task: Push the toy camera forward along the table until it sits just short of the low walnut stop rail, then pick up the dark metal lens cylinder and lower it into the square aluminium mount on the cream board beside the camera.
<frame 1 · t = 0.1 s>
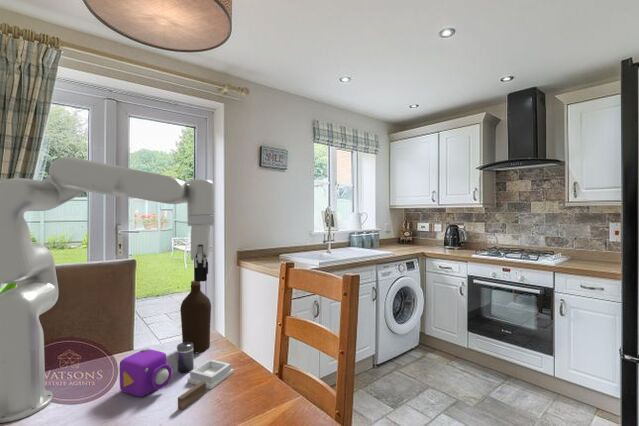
hand: (201, 277, 96), 31 cm above the table, tool pointing down, fingers open, 9 cm apart
olive oil: (196, 348, 118), on the table
mount: (211, 377, 98), on the table
toy camera: (148, 389, 92), on the table
rail: (192, 400, 86), on the table
lens: (185, 369, 103), on the table
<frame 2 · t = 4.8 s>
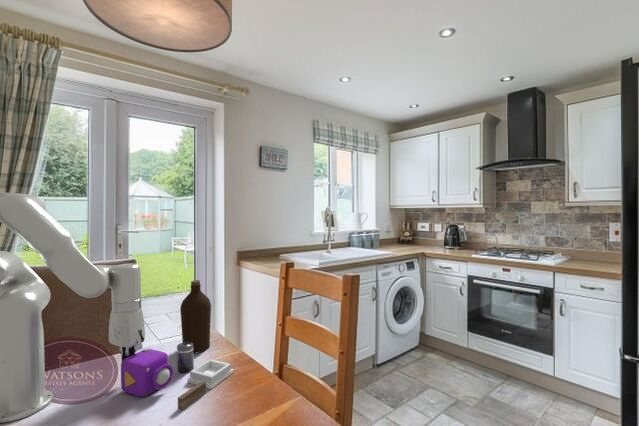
hand: (128, 366, 95), 5 cm above the table, tool pointing down, fingers closed
toy camera: (149, 389, 92), on the table, touching gripper
everything else where it was.
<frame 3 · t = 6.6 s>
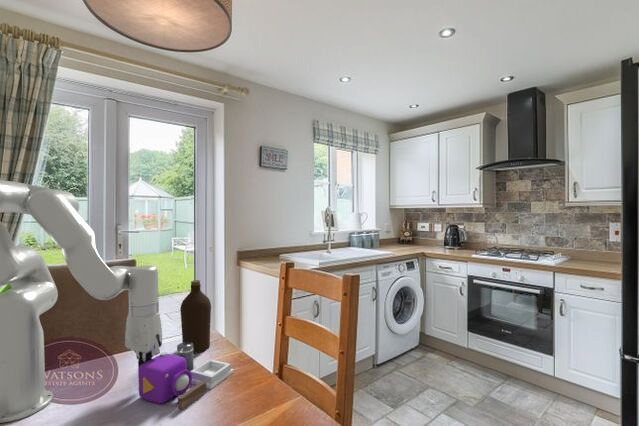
hand: (145, 371, 92), 5 cm above the table, tool pointing down, fingers closed
toy camera: (168, 395, 89), on the table, touching gripper
everything else where it was.
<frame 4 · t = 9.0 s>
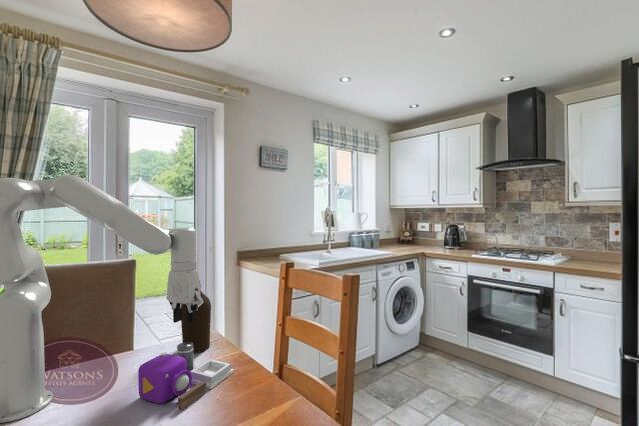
hand: (184, 321, 102), 15 cm above the table, tool pointing down, fingers open, 5 cm apart
toy camera: (167, 395, 89), on the table
everything else where it was.
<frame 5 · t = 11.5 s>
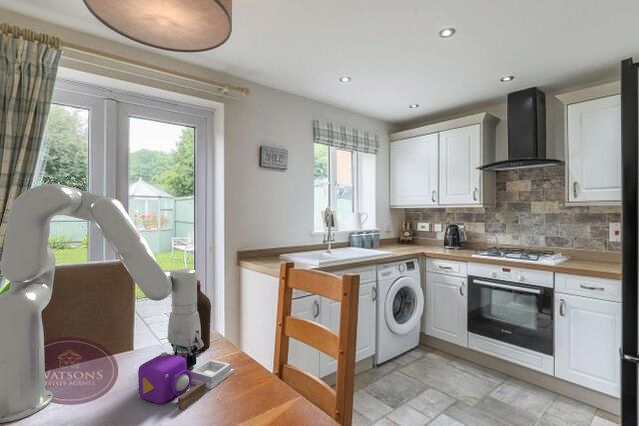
hand: (185, 363, 103), 2 cm above the table, tool pointing down, fingers closed on lens, 4 cm apart
lens: (185, 369, 103), on the table, touching gripper
everything else where it was.
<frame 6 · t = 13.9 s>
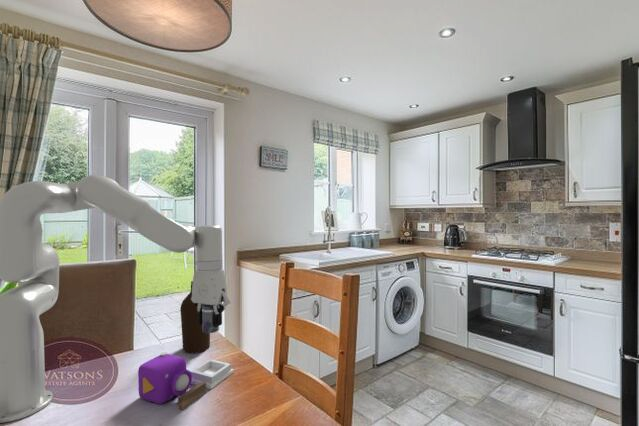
hand: (210, 324, 98), 16 cm above the table, tool pointing down, fingers closed on lens, 4 cm apart
lens: (210, 330, 98), point 15 cm above the table, touching gripper
everything else where it was.
when the fingers open (4 cm above the table, at t = 16.3 s): lens drops 1 cm, resting on mount.
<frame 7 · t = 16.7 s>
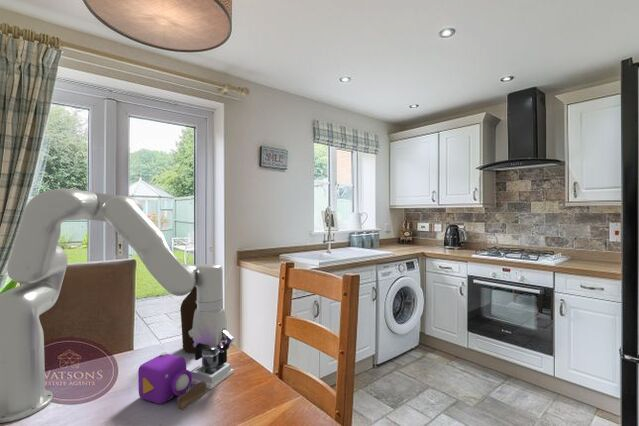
hand: (210, 360, 98), 5 cm above the table, tool pointing down, fingers open, 8 cm apart
lens: (210, 373, 98), point 1 cm above the table, touching mount
everything else where it was.
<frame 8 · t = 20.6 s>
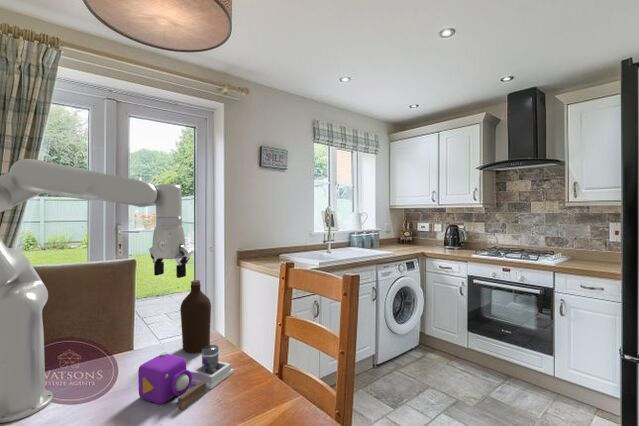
hand: (170, 275, 102), 30 cm above the table, tool pointing down, fingers open, 9 cm apart
nothing on the table moved.
at the end: lens 0.2 cm off-centre on the mount, point 1.0 cm above the mount's base; lens tilted 0°; toy camera inside the target area (0.4 cm from its centre), on the table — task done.
